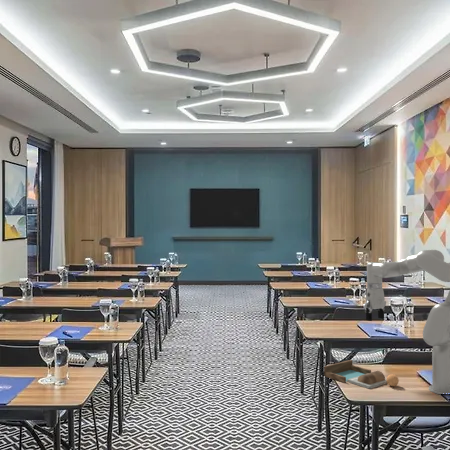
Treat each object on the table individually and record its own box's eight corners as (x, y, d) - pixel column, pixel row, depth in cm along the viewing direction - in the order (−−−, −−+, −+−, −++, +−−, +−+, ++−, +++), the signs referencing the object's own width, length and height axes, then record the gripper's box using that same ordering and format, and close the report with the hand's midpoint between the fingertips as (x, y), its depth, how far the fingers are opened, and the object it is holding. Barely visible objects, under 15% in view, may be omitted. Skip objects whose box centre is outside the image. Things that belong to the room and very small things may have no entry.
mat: (368, 375, 255) (368, 374, 255) (345, 381, 245) (345, 381, 245) (350, 370, 264) (350, 369, 264) (327, 376, 254) (327, 375, 254)
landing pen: (371, 375, 256) (371, 365, 256) (344, 382, 244) (344, 372, 244) (350, 369, 266) (350, 359, 266) (324, 376, 254) (324, 366, 254)
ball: (401, 386, 238) (401, 374, 238) (394, 388, 235) (393, 376, 235) (391, 383, 242) (391, 372, 242) (383, 385, 239) (383, 374, 239)
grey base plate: (390, 382, 244) (390, 379, 244) (369, 388, 234) (369, 385, 234) (368, 375, 254) (368, 373, 254) (347, 381, 245) (347, 379, 245)
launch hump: (385, 387, 244) (385, 372, 244) (369, 392, 237) (369, 377, 237) (373, 383, 250) (373, 369, 250) (357, 388, 242) (357, 373, 242)
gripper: (369, 288, 252) (370, 322, 252) (391, 285, 262) (391, 318, 262) (357, 286, 258) (358, 320, 258) (379, 284, 268) (379, 316, 268)
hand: (375, 319), depth 260 cm, fingers open, 9 cm apart
